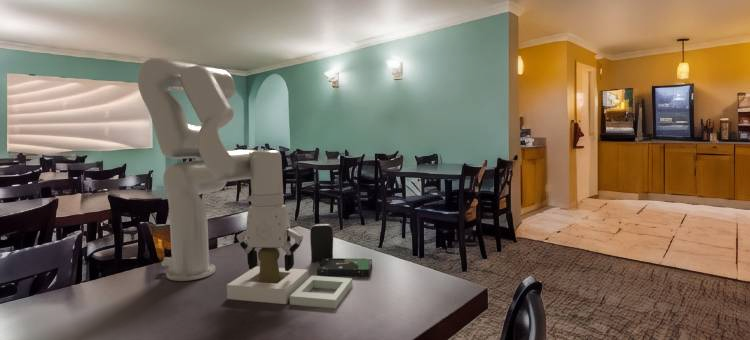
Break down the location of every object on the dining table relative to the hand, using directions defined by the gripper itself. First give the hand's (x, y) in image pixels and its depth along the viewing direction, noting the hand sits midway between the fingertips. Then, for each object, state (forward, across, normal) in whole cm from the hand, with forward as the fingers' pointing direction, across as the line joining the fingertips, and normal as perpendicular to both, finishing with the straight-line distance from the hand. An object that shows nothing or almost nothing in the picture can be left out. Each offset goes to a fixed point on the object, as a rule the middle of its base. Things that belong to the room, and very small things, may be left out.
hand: (271, 268), depth 102 cm
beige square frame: (+6, -1, 0) cm, 6 cm away
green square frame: (+6, +13, 0) cm, 15 cm away
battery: (+6, +4, +26) cm, 27 cm away
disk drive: (+7, +14, +18) cm, 24 cm away
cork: (+6, -1, 0) cm, 6 cm away
